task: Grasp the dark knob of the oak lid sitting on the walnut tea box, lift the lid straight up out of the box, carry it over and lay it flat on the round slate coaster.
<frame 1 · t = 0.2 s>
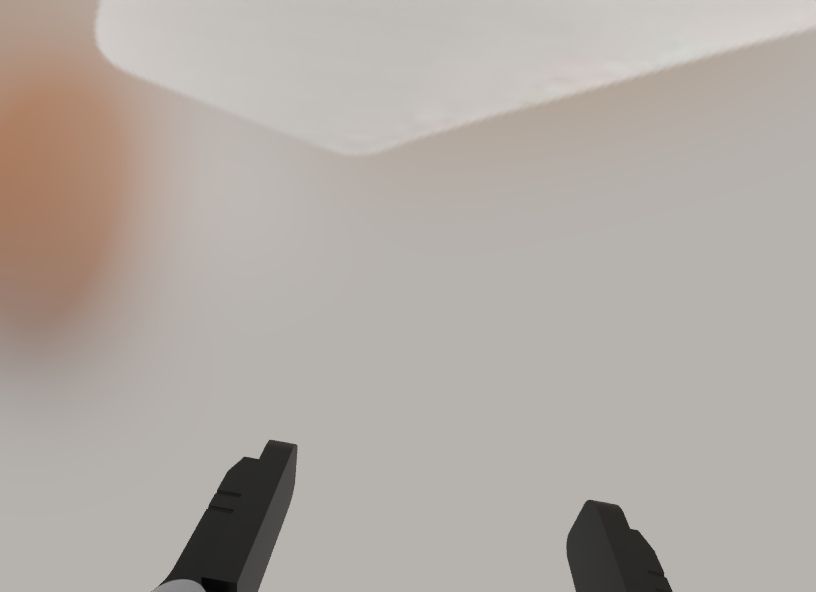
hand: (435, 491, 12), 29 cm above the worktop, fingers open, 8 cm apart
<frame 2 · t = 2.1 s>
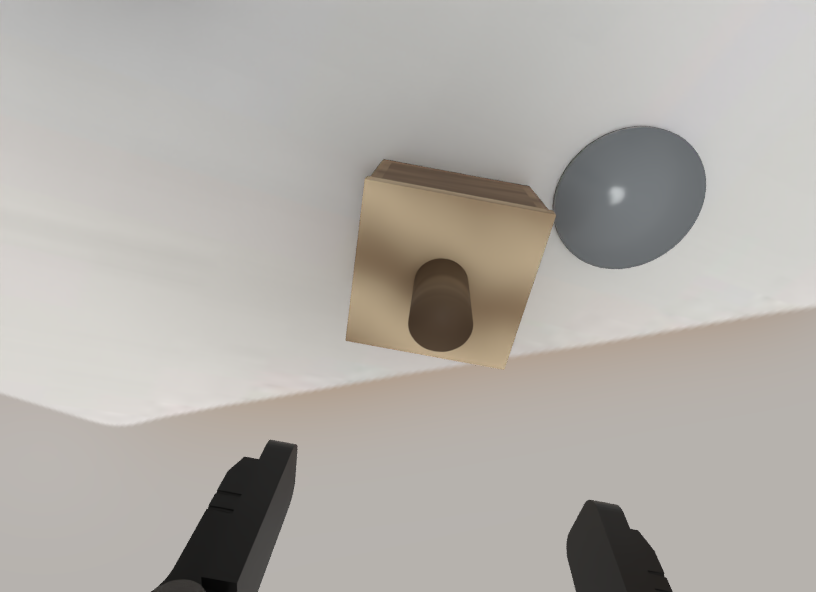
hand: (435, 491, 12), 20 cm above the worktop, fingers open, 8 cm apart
lid: (441, 277, 24), point 6 cm above the worktop, touching tea box
tea box: (441, 242, 30), on the worktop
coaster: (624, 201, 28), on the worktop
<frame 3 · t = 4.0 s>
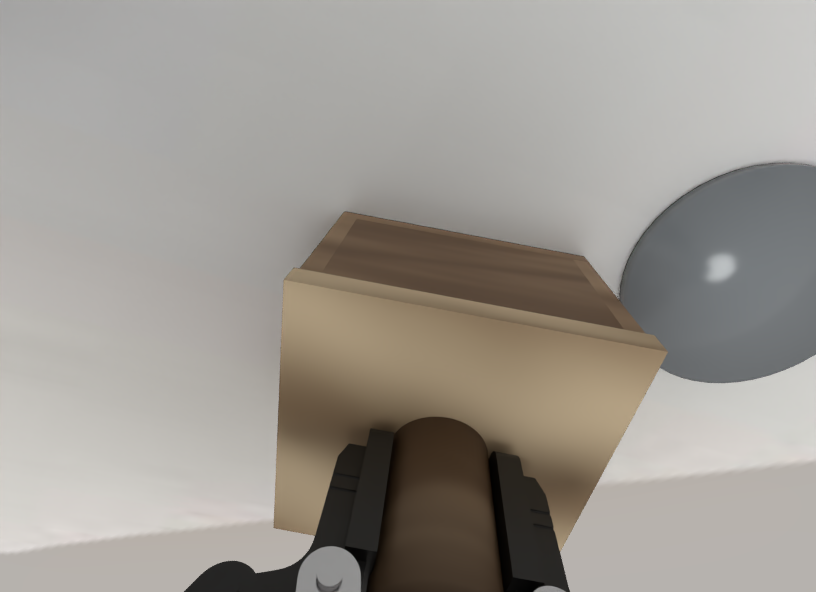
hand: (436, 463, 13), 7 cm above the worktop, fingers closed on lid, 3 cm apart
lid: (437, 435, 14), point 6 cm above the worktop, touching gripper, tea box
tea box: (440, 336, 19), on the worktop
coaster: (740, 281, 17), on the worktop
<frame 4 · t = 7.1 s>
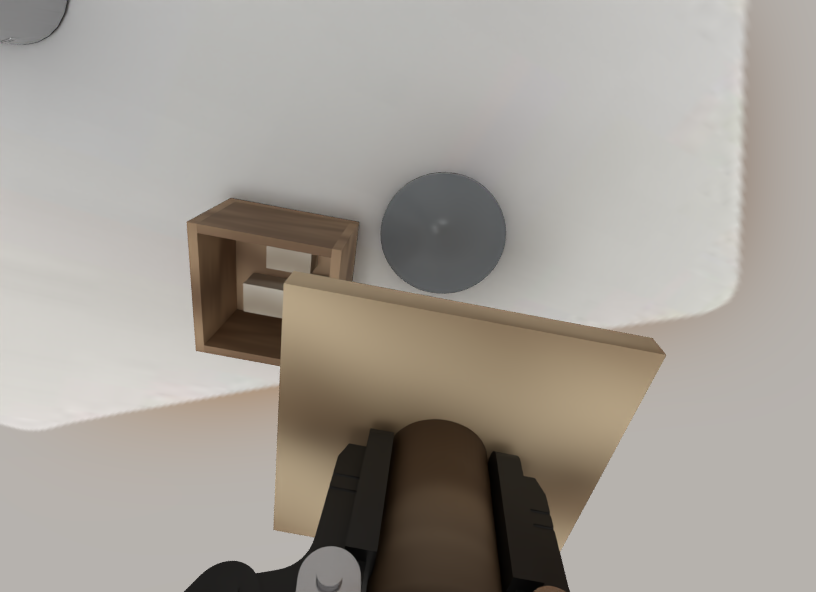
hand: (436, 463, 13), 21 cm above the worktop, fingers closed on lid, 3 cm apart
lid: (437, 437, 14), point 20 cm above the worktop, touching gripper
tea box: (292, 269, 34), on the worktop
coaster: (442, 234, 31), on the worktop
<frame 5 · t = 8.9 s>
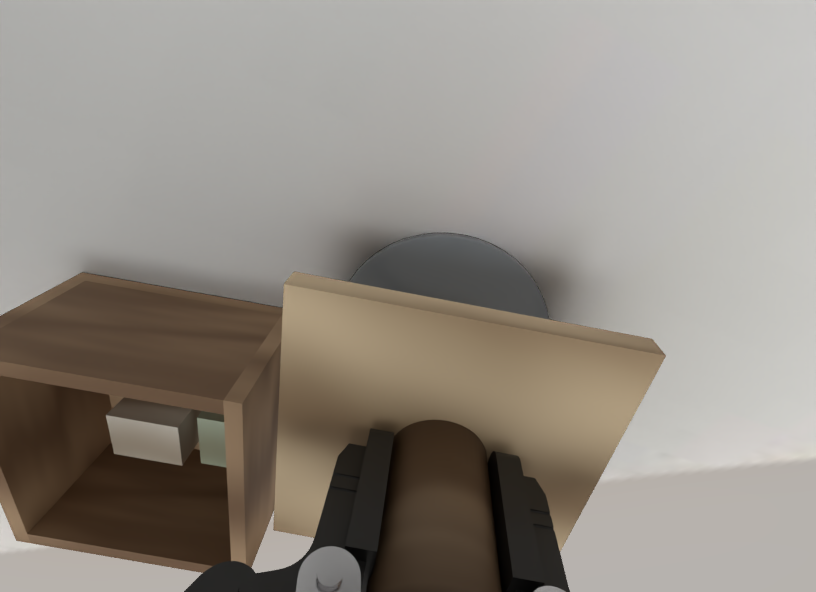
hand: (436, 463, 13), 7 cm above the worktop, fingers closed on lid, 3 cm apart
lid: (437, 438, 14), point 6 cm above the worktop, touching gripper
tea box: (198, 378, 21), on the worktop
coaster: (440, 331, 19), on the worktop
when the fingers open (4 cm above the worktop, at t = 10.2 s): lid drops 2 cm, resting on coaster.
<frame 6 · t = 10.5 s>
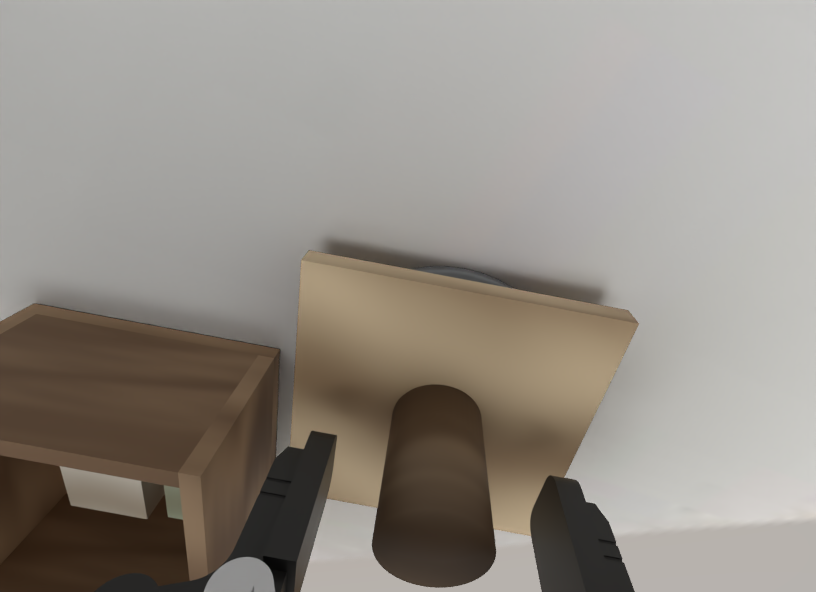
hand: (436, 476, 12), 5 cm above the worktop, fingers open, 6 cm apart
lid: (436, 404, 15), point 2 cm above the worktop, touching coaster
tea box: (167, 419, 19), on the worktop
coaster: (438, 374, 16), on the worktop
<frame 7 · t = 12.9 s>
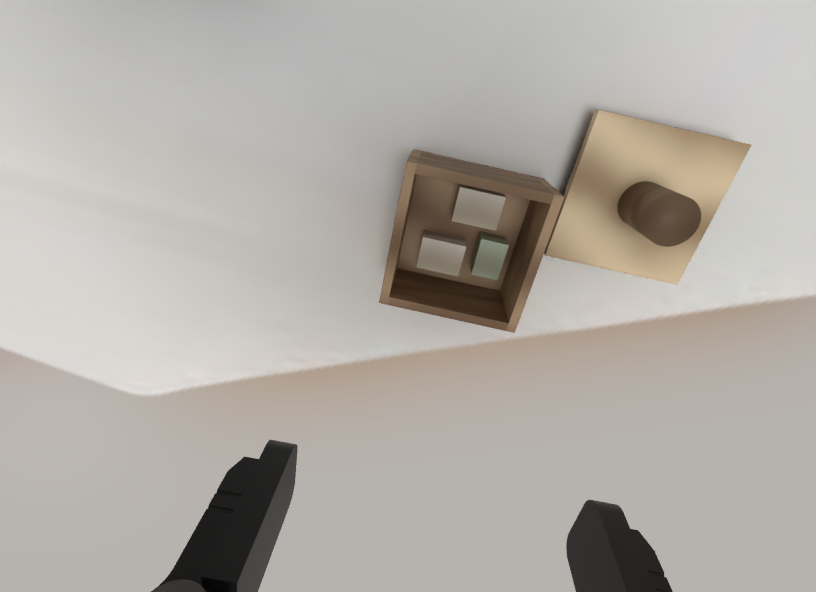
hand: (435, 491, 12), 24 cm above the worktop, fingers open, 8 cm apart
lid: (636, 201, 29), point 2 cm above the worktop, touching coaster
tea box: (461, 227, 33), on the worktop
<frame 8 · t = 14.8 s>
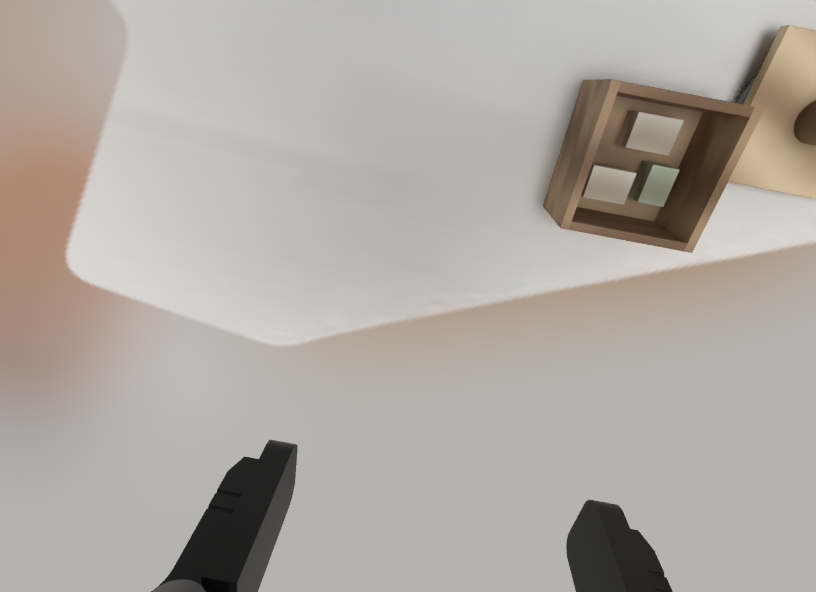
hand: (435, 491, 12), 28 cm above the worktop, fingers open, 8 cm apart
lid: (809, 120, 30), point 2 cm above the worktop, touching coaster
tea box: (621, 158, 34), on the worktop
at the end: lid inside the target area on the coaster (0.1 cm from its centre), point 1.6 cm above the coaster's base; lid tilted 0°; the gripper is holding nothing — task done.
